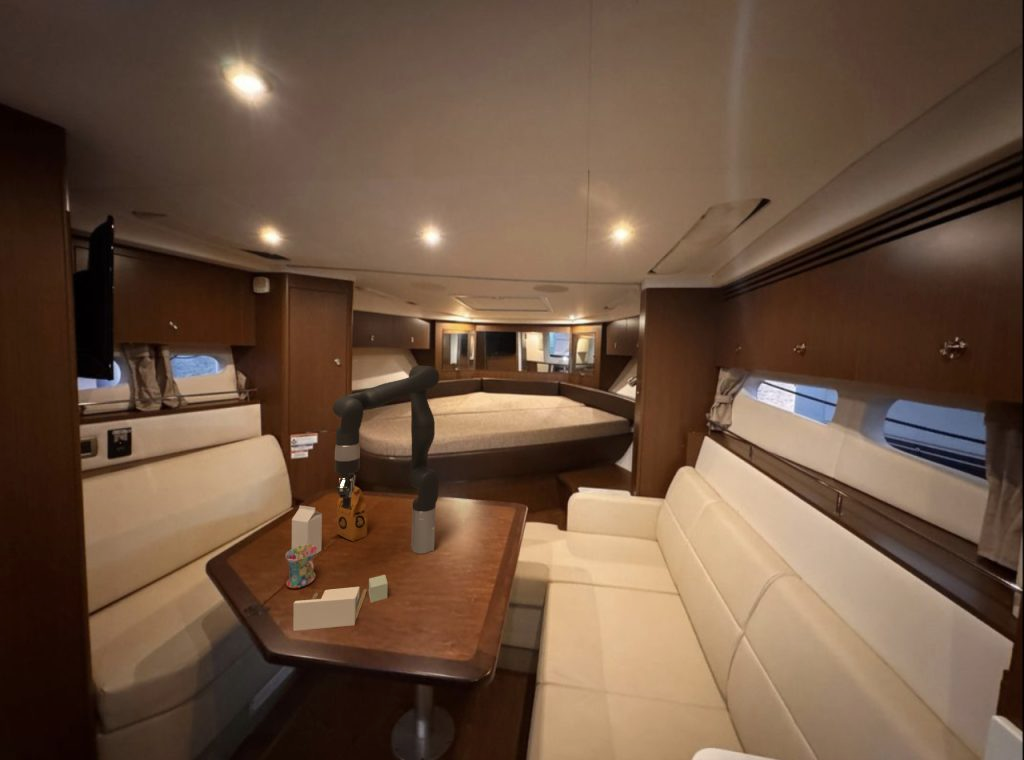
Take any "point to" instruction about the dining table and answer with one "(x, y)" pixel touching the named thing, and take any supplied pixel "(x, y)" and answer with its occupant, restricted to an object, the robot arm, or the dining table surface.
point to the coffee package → (352, 517)
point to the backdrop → (324, 613)
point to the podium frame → (357, 605)
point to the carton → (342, 593)
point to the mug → (300, 565)
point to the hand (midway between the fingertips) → (346, 507)
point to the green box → (378, 588)
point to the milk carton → (307, 528)
